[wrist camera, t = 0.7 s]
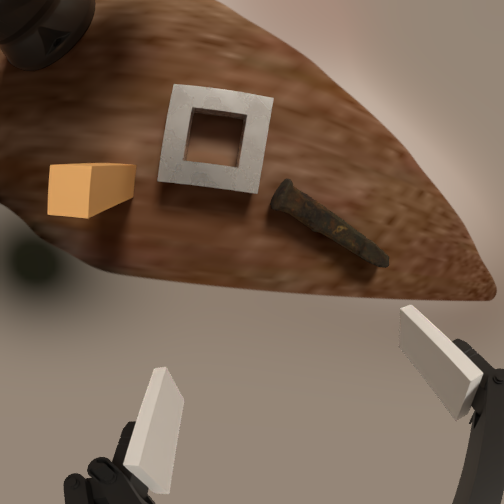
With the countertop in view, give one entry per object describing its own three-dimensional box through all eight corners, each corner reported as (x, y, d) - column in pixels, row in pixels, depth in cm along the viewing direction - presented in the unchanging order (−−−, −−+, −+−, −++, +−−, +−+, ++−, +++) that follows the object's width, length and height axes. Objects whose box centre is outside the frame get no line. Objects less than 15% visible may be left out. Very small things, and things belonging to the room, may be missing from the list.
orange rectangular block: (107, 163, 31) (50, 164, 17) (136, 164, 31) (91, 166, 18) (103, 194, 32) (47, 214, 19) (133, 197, 32) (88, 218, 19)
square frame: (177, 91, 29) (173, 84, 26) (267, 104, 31) (273, 98, 28) (162, 179, 32) (157, 181, 29) (252, 191, 34) (257, 193, 31)
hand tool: (264, 203, 35) (272, 209, 31) (282, 176, 35) (292, 178, 30) (367, 273, 41) (383, 286, 36) (382, 251, 40) (399, 262, 35)
